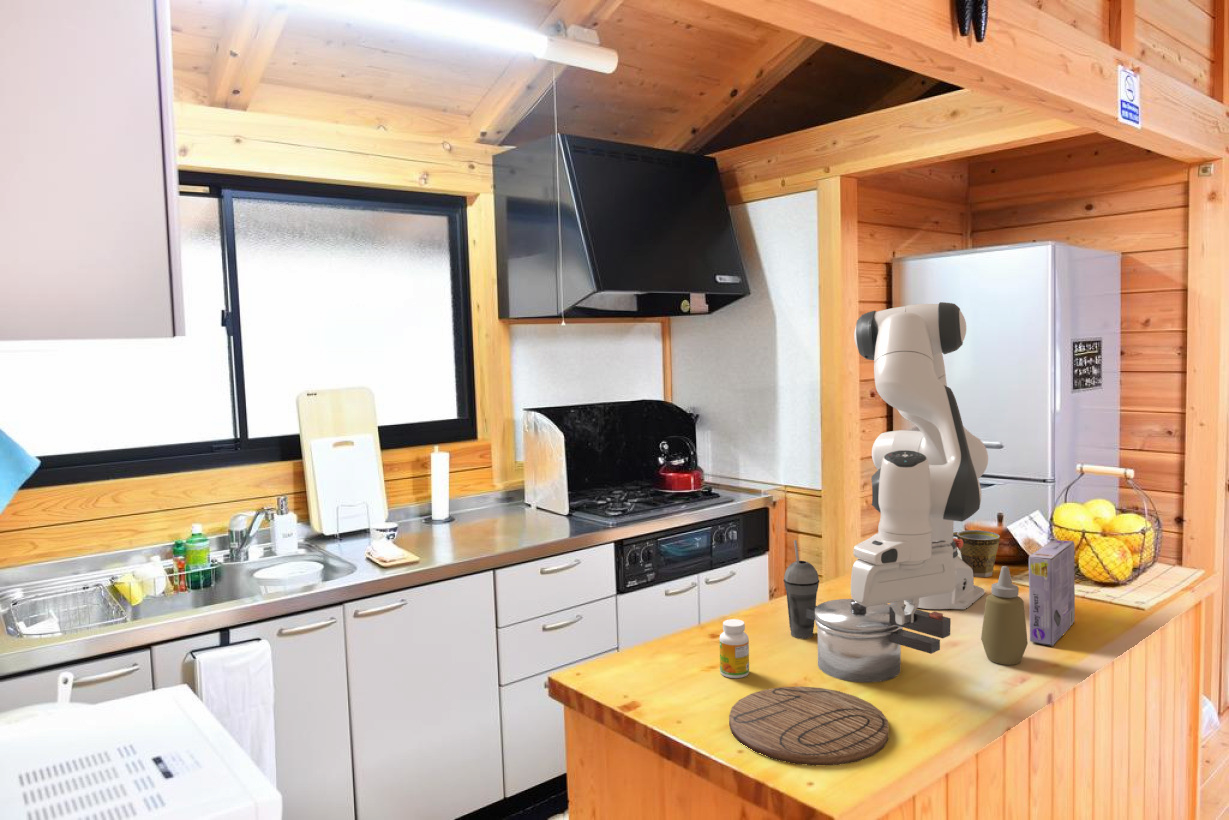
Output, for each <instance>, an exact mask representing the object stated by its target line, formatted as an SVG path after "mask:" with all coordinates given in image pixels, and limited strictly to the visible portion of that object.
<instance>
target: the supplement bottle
mask: <svg viewBox="0 0 1229 820" xmlns="http://www.w3.org/2000/svg"><path fill="white" fill-rule="evenodd" d="M745 629H746V625H745V621H743V620H741V619H737V618H732V619H731V618H730V619H726V620H724V621H723V622H722V630H723V632H721V633H720V635H719V672H720V674H721V675H722V676H723V677H726V678H730V679H742V678H745V677H747V676H748V675H749V674H750V652H749V651H750V646H749V645H750V643H749V636H748V634H747V633H746V632H745Z"/></svg>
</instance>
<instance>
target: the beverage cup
mask: <svg viewBox="0 0 1229 820" xmlns="http://www.w3.org/2000/svg"><path fill="white" fill-rule="evenodd" d="M793 545H794V551H795V558H796V561H793V562H791V563H790V564H789V565H788V567H787V568H786V569H785V572H784V575H783V577H784V578H783V583H784V588H785V592H786V602H787V613H788V620H789V621H788V623H789V628H790V629H789V630H790V636H792V637H793V638H796V639H809V638H810V639H811V638H812V637H813V635H814V628H815V620H813V619H809V618H806V609H807V608H810V607H813V606H817V596H818V595H817V594H818V593H817V592H818V590H819V586H820V585H819V583H820V578H819V574H818V571H817V569H816V567H814V565H813V564H811V563H810V562H809V561H806V560H800V558H799V549H798V543H797V539H794V540H793Z"/></svg>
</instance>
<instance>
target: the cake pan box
mask: <svg viewBox="0 0 1229 820" xmlns="http://www.w3.org/2000/svg"><path fill="white" fill-rule="evenodd" d="M1028 589H1029V590H1028V591H1029V592H1028V596H1029V599H1028V602H1029V604H1028V605H1029V642H1032V643H1037V644H1041V645H1045V646H1049V647H1054V646H1055V644H1056V643H1057V641H1059V639H1061V638H1062V637H1061V636H1063V634H1064V633H1065V632H1066V631H1067V632H1068V630H1070V628H1071V627H1072V626H1073V622H1074V623H1075V617H1076V616H1075V610H1076V608H1075V606H1076V605H1075V602H1076V601H1075V599H1076V598H1075V596H1076V595H1075V592H1076V590H1075V542H1074V540H1058V539H1057V540H1055V539H1052V540H1051V541H1049V542H1048V543H1047V544H1045V545H1043V546H1042V547H1041V548H1038V550H1036V551H1035V552H1034V553H1031V554H1030V555H1029V556H1028ZM1071 625H1072V626H1071ZM1070 626H1071V627H1070ZM1067 632H1066V633H1067ZM1066 633H1065V634H1066ZM1065 634H1064V635H1065ZM1063 637H1064V636H1063Z"/></svg>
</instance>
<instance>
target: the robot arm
mask: <svg viewBox="0 0 1229 820" xmlns="http://www.w3.org/2000/svg"><path fill="white" fill-rule="evenodd" d="M855 324H856V325H855V327H854V328H855V329H854V333H853V338H854V339H853V340H854V344H855V347H856V349H857V350H858V353H859V355H861V357H863V358H864V359H865V360H869V361H873V377H874V385H875V390H876V391H877V392H876V393H877V394H878V395H879V396H880V398H881V399H882V400H883V401H884V402H885V403H886V404H888V406H890V407H892V408H894V409H895V410H897V411H898V413H899V414H900V416H901V417H902V418H903V419H905V420H907V421H909V422H910V423H912V424H913V425H915V426H916V427H917V429H918V430H906V429H905V430H904V429H900V430H899V429H898V430H892V431H886V432H882V433H880V434H879V435H878V436H877V437H876V439H875V440H874V442H873V444H872V447H871V459H872V462H873V466H874V467H875V468H876V469H877V470H876V472H875V473H874V474H872V476H871V479H870V480H871V491H872V492H871V495H872V496H871V497H872V499H871V500H872V501H871V504H870V505H871V506H872V507H873V508H874V509H875V510H876V511H877V512H878V513H880V519H879V523H878V525H877V526H878V527H877V528H878V529H877V530H878V531H877V533H875V534H873V535H871V536H870V537H868V538H867V539H864V540H863V541H861V542H858V543H857V544H856V545H854V547H853V551H852V552H853V556H854V557H855V558H857V559H856V560H855V561H854V563H853V565H852V568H851V577H850V595H851V599H853V600H854V601H855V602H856V603H858V604H860V605H862V606H865V607H869V606H875V605H881V604H890V605H891V607H892V609H893V611H894V612H895V621H896V623H897V624H899V625H904V624H909V623H913V621H914V613H915V611H916V609H917V610H918V608H920V609H924V610H925V609H926V610H948V609H949V610H950V609H951V610H967V609H968V608H969V607H970V606H971V605H972V603H973V604H974V603H975V602H977V600H979V599H980V598H981V597H983V596H984V595H985V593H986V592H985V589H984V588H982V587H980V586H979V585H975V584H974V580H975V579H974V578H975V577H973V570H972V568H971V567H970V566H968V565H967V564H966V563H965V562H964V561H963V560H962V558H960V556H959V553H958V552H959V551H958V548H962V547H963V541H962V539H957V537H956V538H954V536H953V533H954V522H964V521H966V520H968V519H969V518H970V517H972V516H973V515H975V514H976V513H977V512H978V510H980V507H981V502H982V487H981V483H980V480H979V479H980V478H981V477H982V476H983V475H984V473H985V472H986V470H987V467H988V464H989V454H988V450H987V448H986V445H985V444H984V442H983V441H982V440H981V439H980V438H979V437H978V436H976V435H974V434H973V433H972V432H970V431H969V430H968V429H966V427H965V426H964V425H963V420H962V416H961V413H960V409H959V405H958V402H957V399H956V397H955V394H954V392H953V390H952V389H951V387H949V386H948V383H947V377H946V375H947V374H946V366H945V361H944V360H945V359H944V356H943V355H948V354H951V353H953V352H956V351H958V350H959V348H961V347H962V346H963V344H964V340H965V338H966V334H967V322H966V319H965V316H964V314H963V312H962V311H961V308H960V307H959V306H958V305H957V304H956V303H952V302H944V301H943V302H939V303H920V304H919V303H918V304H917V303H915V304H906V306H905V305H903V306H898V307H892V308H888V309H887V308H886V309H882V310H878V311H876V310H871V311H869V312H866V313H864V314H861V315H860V317H859V318H858V319H857V320H856V323H855ZM953 538H954V539H953ZM901 606H906V607H905V609H904V611H903V609H902V607H901ZM966 608H967V609H966Z"/></svg>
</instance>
